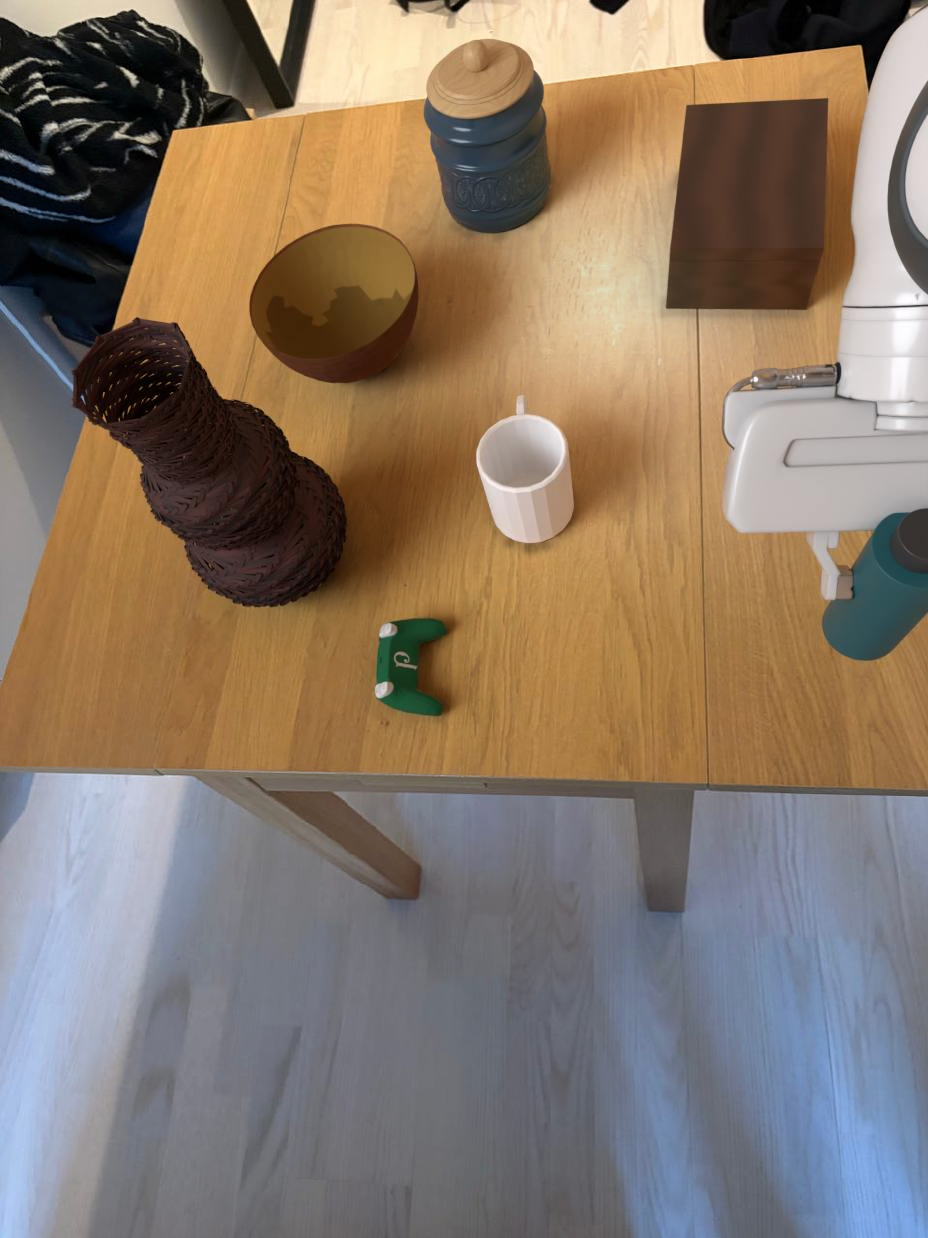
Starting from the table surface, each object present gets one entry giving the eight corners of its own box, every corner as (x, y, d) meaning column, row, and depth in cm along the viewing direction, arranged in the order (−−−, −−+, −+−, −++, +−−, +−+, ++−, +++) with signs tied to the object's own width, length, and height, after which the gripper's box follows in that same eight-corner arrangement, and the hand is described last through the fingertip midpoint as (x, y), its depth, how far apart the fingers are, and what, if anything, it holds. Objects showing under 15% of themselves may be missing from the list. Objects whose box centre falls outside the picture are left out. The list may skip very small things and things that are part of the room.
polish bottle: (899, 596, 55) (981, 495, 42) (901, 664, 53) (986, 580, 40) (822, 590, 56) (879, 490, 43) (820, 657, 54) (880, 572, 42)
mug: (569, 435, 81) (563, 371, 72) (576, 540, 76) (570, 486, 67) (491, 443, 82) (475, 382, 73) (493, 547, 77) (476, 495, 68)
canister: (465, 251, 92) (433, 106, 76) (431, 182, 98) (394, 32, 82) (569, 208, 92) (559, 53, 76) (529, 140, 97) (511, -18, 81)
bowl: (468, 336, 88) (451, 266, 79) (360, 447, 85) (328, 388, 76) (360, 271, 94) (332, 200, 85) (256, 372, 91) (215, 309, 82)
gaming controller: (429, 631, 77) (375, 616, 74) (451, 619, 74) (395, 604, 71) (425, 723, 74) (367, 712, 71) (447, 715, 71) (388, 703, 68)
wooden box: (811, 167, 88) (828, 97, 81) (806, 309, 81) (824, 247, 74) (681, 171, 91) (686, 104, 84) (665, 308, 84) (670, 248, 77)
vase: (381, 499, 82) (261, 278, 54) (349, 638, 76) (198, 471, 49) (246, 491, 85) (70, 279, 58) (206, 624, 80) (-8, 460, 53)
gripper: (731, 377, 42) (719, 617, 47) (1178, 350, 38) (1110, 616, 43) (718, 364, 48) (708, 580, 53) (1105, 340, 44) (1053, 576, 49)
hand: (892, 596), depth 48 cm, fingers closed on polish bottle, 5 cm apart
